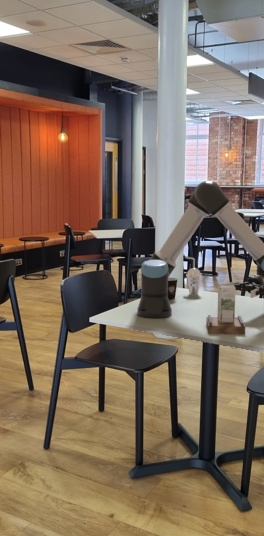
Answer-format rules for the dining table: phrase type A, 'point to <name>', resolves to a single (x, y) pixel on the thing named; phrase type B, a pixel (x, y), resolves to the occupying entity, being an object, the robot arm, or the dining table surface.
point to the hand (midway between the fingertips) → (235, 292)
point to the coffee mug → (172, 288)
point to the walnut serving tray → (225, 326)
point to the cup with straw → (193, 279)
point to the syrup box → (226, 303)
